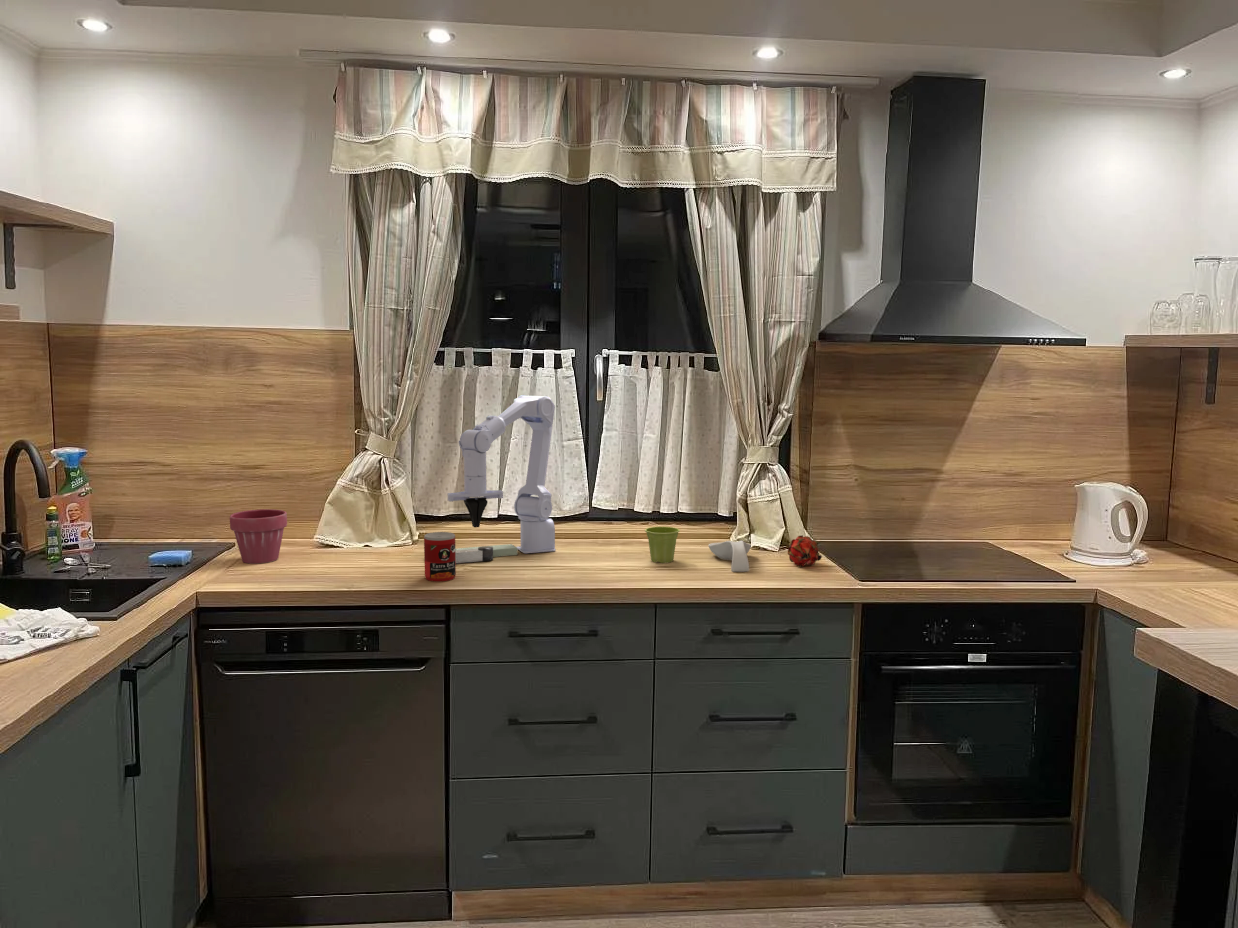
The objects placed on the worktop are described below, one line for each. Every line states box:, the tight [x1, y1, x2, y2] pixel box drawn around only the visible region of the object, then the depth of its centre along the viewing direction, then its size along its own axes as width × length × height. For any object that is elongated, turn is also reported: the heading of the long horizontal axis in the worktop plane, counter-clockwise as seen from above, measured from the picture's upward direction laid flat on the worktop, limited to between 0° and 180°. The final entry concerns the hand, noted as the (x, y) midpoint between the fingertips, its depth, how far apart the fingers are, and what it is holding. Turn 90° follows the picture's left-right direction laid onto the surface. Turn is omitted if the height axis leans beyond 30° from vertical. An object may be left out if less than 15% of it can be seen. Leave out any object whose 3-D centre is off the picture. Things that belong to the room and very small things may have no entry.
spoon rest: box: [708, 540, 752, 573], centre depth 252 cm, size 24×12×7 cm, turn 3°
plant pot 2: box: [644, 526, 681, 564], centre depth 253 cm, size 9×9×9 cm
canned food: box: [423, 531, 457, 583], centre depth 232 cm, size 8×8×11 cm
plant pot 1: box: [229, 508, 288, 565], centre depth 250 cm, size 14×14×13 cm
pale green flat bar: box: [455, 543, 518, 558], centre depth 257 cm, size 24×5×2 cm, turn 114°
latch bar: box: [456, 545, 494, 564], centre depth 250 cm, size 14×4×3 cm, turn 114°
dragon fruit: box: [787, 534, 823, 568], centre depth 249 cm, size 8×8×12 cm
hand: (475, 526), depth 245 cm, fingers closed
